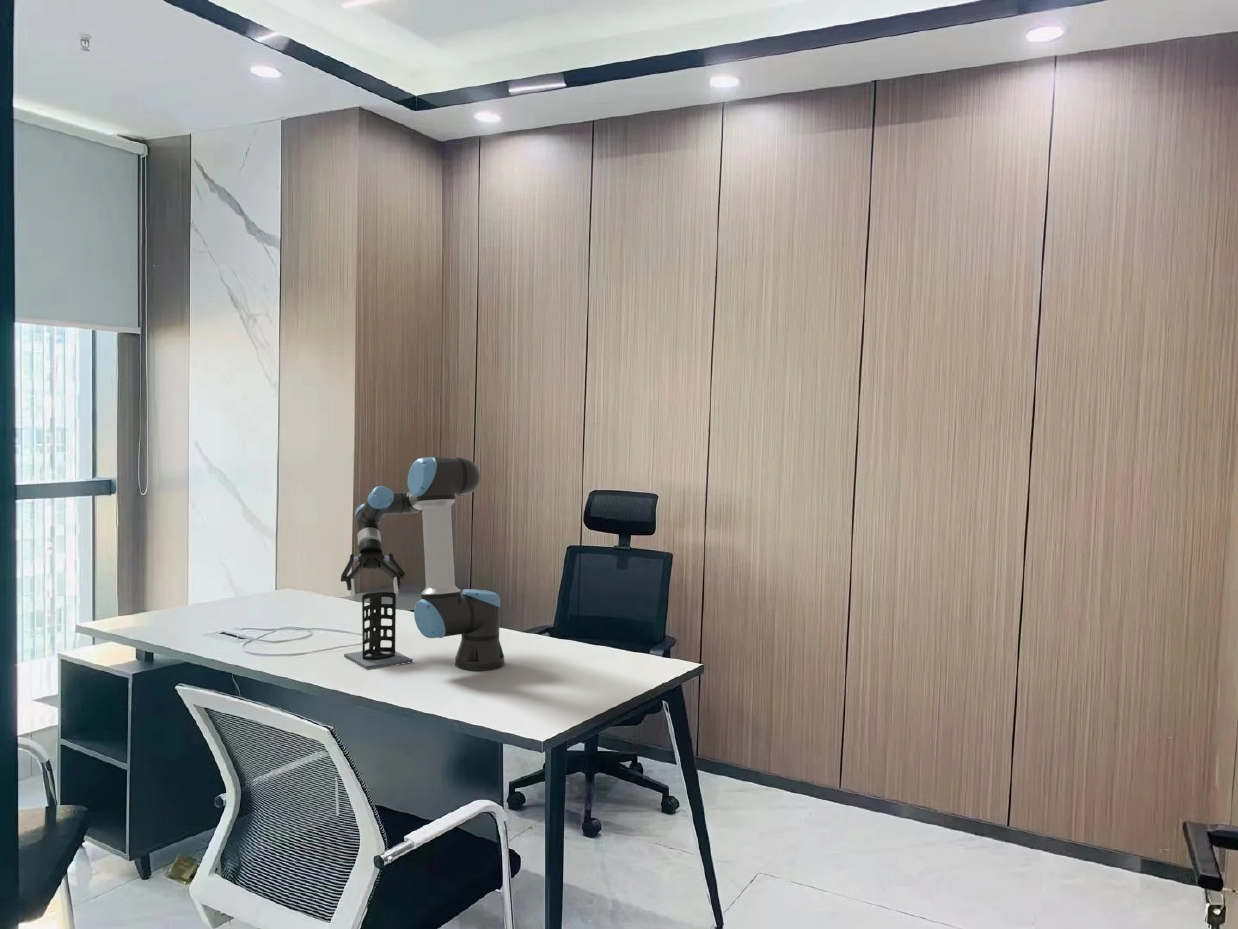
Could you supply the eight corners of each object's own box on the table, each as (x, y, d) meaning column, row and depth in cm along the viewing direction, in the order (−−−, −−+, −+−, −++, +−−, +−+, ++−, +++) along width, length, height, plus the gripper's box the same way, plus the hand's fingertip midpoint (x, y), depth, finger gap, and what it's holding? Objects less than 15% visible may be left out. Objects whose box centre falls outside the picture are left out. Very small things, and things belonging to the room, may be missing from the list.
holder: (368, 662, 273) (370, 597, 272) (355, 657, 278) (356, 593, 277) (399, 656, 281) (400, 593, 280) (385, 651, 286) (387, 589, 285)
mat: (412, 662, 277) (412, 659, 277) (366, 669, 268) (366, 666, 268) (388, 650, 291) (388, 647, 291) (344, 656, 282) (344, 653, 282)
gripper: (406, 550, 306) (412, 601, 292) (330, 552, 296) (333, 605, 283) (408, 536, 301) (416, 588, 287) (331, 538, 291) (335, 591, 278)
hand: (375, 597), depth 285 cm, fingers open, 13 cm apart
